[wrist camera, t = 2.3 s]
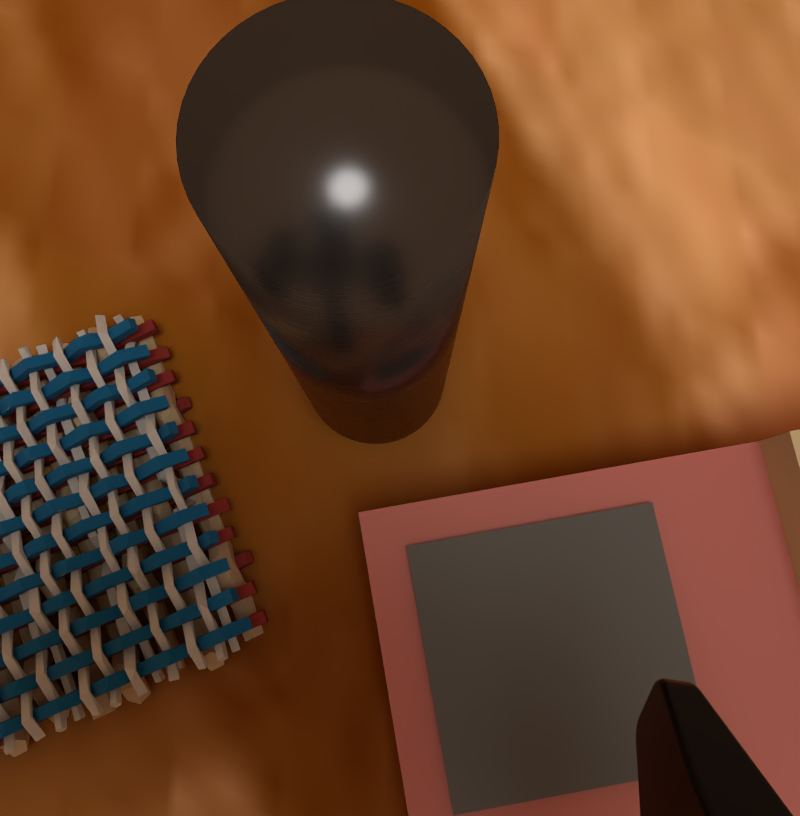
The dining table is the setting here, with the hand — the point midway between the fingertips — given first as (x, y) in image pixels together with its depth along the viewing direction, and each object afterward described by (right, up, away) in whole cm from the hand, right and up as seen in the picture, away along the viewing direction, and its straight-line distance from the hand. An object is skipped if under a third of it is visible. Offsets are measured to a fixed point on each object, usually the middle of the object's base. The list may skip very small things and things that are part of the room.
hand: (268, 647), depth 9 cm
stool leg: (+1, +4, +13) cm, 14 cm away
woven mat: (-8, -1, +13) cm, 16 cm away
